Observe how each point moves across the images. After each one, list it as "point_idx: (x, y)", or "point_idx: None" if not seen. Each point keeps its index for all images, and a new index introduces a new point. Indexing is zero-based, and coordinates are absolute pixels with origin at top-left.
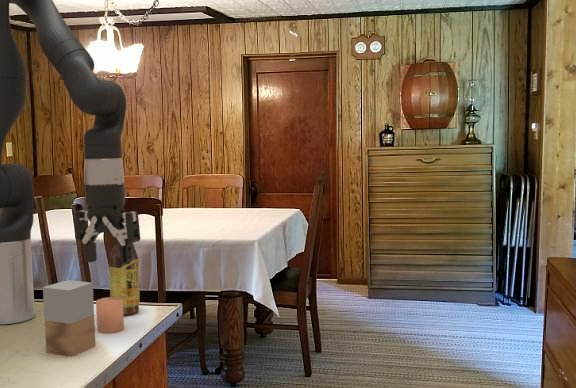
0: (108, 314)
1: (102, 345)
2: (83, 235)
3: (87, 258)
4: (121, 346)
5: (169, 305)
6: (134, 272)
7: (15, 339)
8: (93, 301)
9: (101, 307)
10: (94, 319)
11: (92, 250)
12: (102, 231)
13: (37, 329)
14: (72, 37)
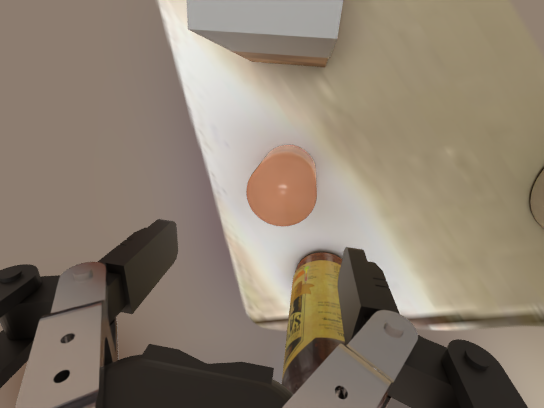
0: (268, 157)
1: (240, 71)
2: (434, 384)
3: (358, 255)
4: (199, 79)
5: (265, 320)
6: (287, 340)
7: (488, 37)
8: (216, 43)
9: (283, 157)
10: (234, 52)
11: (347, 300)
12: (217, 372)
13: (467, 128)
14: None
